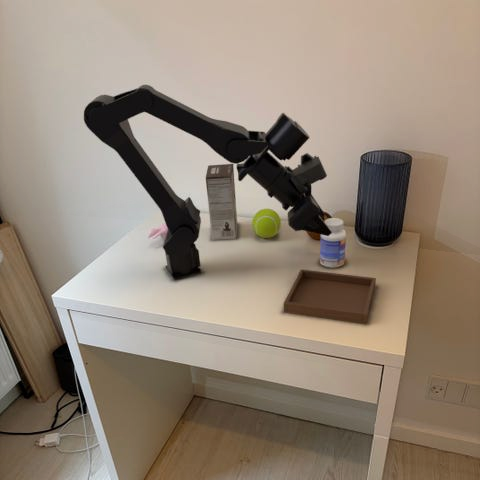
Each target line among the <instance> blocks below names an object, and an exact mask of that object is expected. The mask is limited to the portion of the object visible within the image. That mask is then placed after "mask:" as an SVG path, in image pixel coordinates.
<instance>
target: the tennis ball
mask: <svg viewBox="0 0 480 480" xmlns="http://www.w3.org/2000/svg"><path fill="white" fill-rule="evenodd" d="M251 224H252V225H251V226H252V229H253V231H254V233H255V235H257V236H258V237H261V238H264V239H269V238H273V237H274V236H276V235H277V234H278V233H279V232H280V229H281V226H282V221H281V217H280V215H279V213H277V212H276V211H275V210H274V209H271V208H262V209H260V210H258V211H257V212H256V213H255V214H254V215H253V218H252V221H251Z"/></svg>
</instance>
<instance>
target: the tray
mask: <svg viewBox="0 0 480 480" xmlns="http://www.w3.org/2000/svg"><path fill="white" fill-rule="evenodd" d="M376 283H377V278H376V277H371V276H361V275H353V274H346V273H338V272H337V273H335V272H326V271H319V270H311V269H302V268H301V269H300V271H299V272H298V274H297V277H296V278H295V280H294V282H293V284H292V286H291V288H290V290H289V292H288V294H287V296H286V298H285V300H284V302H283V313H287V314H288V313H289V314H293V315H294V314H295V315H303V316H308V317H315V318H323V319H330V320H336V321H342V322H343V321H344V322H351V323H356V324H364V325H366V324H367V321H368V317H369V312H370V309H371V304H372V302H373V301H372V300H373V296H374V294H375V293H374V292H375V289H376Z"/></svg>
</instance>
